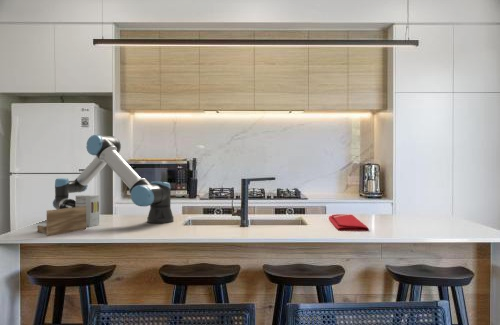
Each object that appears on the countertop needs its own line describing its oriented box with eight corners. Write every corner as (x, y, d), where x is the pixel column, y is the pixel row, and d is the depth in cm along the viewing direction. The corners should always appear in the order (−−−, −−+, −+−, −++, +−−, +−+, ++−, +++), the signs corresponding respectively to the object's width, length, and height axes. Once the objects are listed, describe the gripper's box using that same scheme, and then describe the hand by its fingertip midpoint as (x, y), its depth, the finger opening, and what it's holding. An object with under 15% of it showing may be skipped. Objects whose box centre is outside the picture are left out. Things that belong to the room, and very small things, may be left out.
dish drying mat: (337, 231, 217) (337, 224, 217) (327, 220, 258) (327, 213, 258) (369, 232, 216) (369, 224, 216) (354, 220, 257) (354, 214, 257)
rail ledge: (86, 229, 223) (86, 206, 223) (48, 235, 204) (47, 210, 203) (67, 226, 230) (67, 204, 230) (28, 233, 211) (28, 208, 211)
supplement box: (90, 227, 230) (90, 195, 230) (74, 226, 232) (74, 195, 232) (100, 224, 239) (99, 194, 239) (85, 223, 241) (84, 194, 241)
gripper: (88, 209, 262) (104, 212, 247) (46, 213, 244) (60, 216, 229) (88, 197, 262) (104, 199, 247) (46, 200, 244) (60, 202, 229)
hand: (83, 208), depth 238 cm, fingers open, 13 cm apart
